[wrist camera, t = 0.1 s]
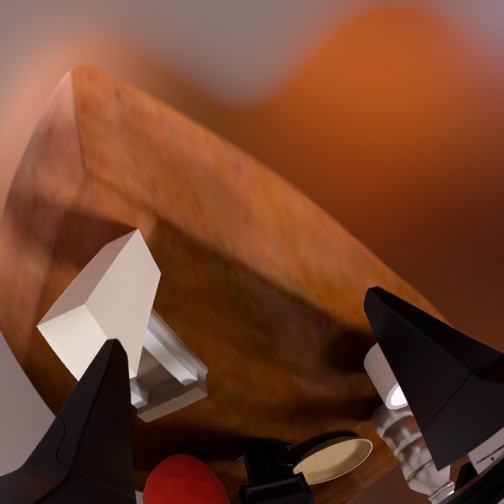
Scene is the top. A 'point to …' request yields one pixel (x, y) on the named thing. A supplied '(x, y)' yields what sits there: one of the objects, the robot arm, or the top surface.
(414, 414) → the robot arm
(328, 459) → the plant saucer
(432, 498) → the plastic bottle
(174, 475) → the apple
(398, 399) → the white cup
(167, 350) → the sill track
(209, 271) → the top surface
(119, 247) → the white rectangular block
